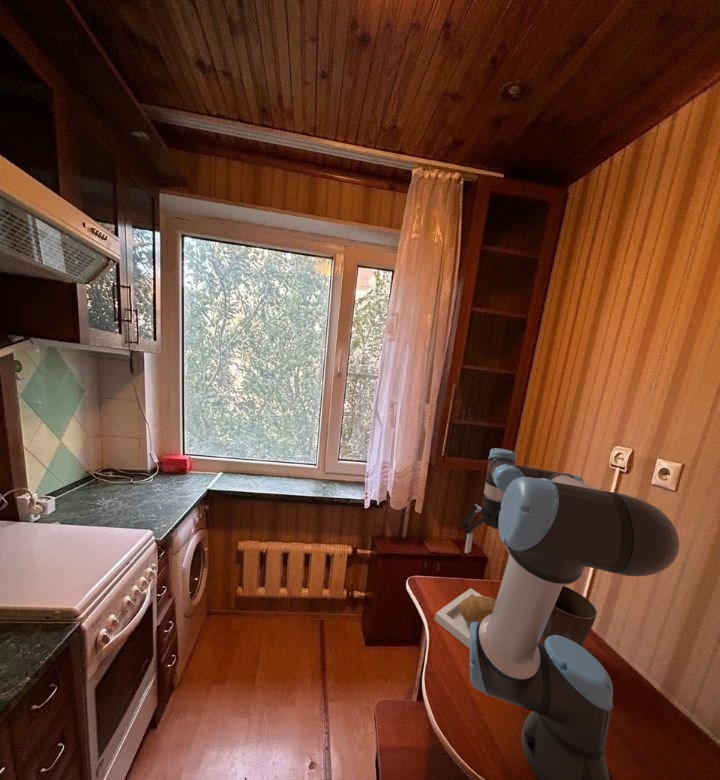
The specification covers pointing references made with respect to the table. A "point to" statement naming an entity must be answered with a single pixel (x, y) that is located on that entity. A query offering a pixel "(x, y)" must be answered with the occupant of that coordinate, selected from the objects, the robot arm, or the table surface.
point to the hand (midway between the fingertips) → (487, 562)
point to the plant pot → (571, 617)
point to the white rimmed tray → (456, 618)
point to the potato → (476, 608)
